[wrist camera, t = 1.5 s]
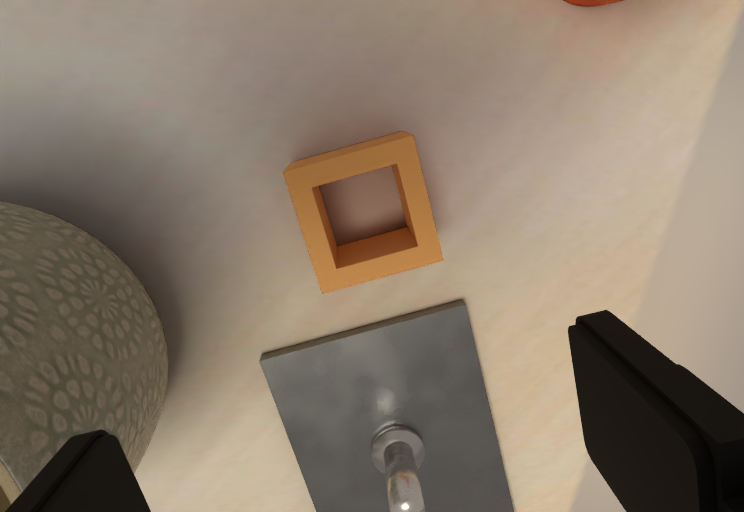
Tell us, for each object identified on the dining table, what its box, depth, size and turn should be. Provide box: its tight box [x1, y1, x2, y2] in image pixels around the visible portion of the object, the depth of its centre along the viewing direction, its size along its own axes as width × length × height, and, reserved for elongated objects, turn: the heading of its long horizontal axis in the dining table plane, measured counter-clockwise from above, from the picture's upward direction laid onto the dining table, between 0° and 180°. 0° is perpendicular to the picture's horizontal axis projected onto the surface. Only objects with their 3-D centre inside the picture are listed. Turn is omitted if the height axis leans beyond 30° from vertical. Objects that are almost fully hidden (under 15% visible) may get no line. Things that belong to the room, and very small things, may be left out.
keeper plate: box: [260, 300, 514, 512], centre depth 29 cm, size 16×12×6 cm
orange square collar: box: [283, 131, 443, 294], centre depth 25 cm, size 6×6×4 cm
